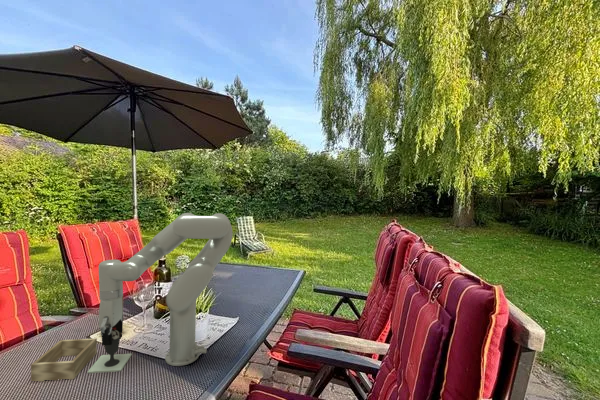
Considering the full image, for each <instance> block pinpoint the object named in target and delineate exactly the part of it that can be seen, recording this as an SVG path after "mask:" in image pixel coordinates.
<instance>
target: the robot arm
mask: <svg viewBox="0 0 600 400" xmlns="http://www.w3.org/2000/svg"><path fill="white" fill-rule="evenodd" d="M187 239H194V240H195V239H200V240H201V239H202V240H203V239H205V240H207V242H206V243H205V245H204V246H203V247H202V249H201V250H200V251H198V253H197V255H196V256H195V257H194V258H193V259H192V260H191V261H190V263H189V264H188V265H187V268H186V269H185V271H184V272H183V274H182V275H181V276H180V277H179V278H177V279H176V280H174V281H173V283H172V284H171V286H170V288H169V290H168V292H167V294H166V299H165V302H166V305H167V308H168V309H169V351H168V352H167V353H166V354H165V357H164V361H165V363H166V364H167V365H170V366H173V367H174V366H175V367H181V366H186V365H189V364H192V363H194V362H195V361H196V360H198V359H199V356H200V354H207V351H208V349H207V347H205V345H197V344H198V342H197V341H196V328H197V327H196V322H197V321H196V319H197V300H198V298H199V297H200V295H201V294H202V293H203V292H204V290H205V289H206V287H207V286H208V285H209V284H210V282H211V280H212V278H213V273H214V270H215V269H216V268H217V266H218V264H219V263H220V262H221V260H222V259H223V257H224V256H225V255H226V254H227V252H228V250H229V249H230V246H231V244H232V240H233V227H232V224H231V221H230V219H229V218H228V216H227V215H225V214H224V213H220V212H218V213H214V214H212V215H195V214H193V213H191V212H184V213H181V214H180V215H179V216H177V217H176V218H175V219H173V221H172V222H171V223H169V224H168V225H167V226H165V228H163V229H162V230H160V231H159V232H158V233H156V235H154V236H153V237H152V239H151V240H150V241H149V242H148V243H147V244H146V245H145V246H144V247H142V248H141V249H140V250H139V251H138V252H136V253H135V254H134V255H133V256H131V257H129V258H128V260H127V259H126V261H121V260H120V259H107V260H103V261H101V262H100V263H99V264H98V290H99V291H98V292H99V300H100V302H99V307H98V308H99V309H98V310H99V311H98V327H99V329H100V335H101V345H102V346H104V347H105V345H111V344H112V333H111V330H112V327H113V328H114V325H115V328H116V330H117V331H118V332H122V333H123V330H124V329H123V327H124V326H123V325H124V304H123V305H122V296H123V297H124V287H123V286H124V284H123V283H124V282H133V281H134V282H135V281H136V280H138V279H139V278H140V277H141V276H142V275H143V274H145V273H144V272H146V270H148V269H149V268H150V267H151V266H153V265H154V264H155V263H157V262H158V260H160V259H162V258H163V257H164V256H166V255H169V254H171V253H172V252H173V251H174V250H175V249H177V248H178V247H179V246H180V245H181V244H182V243H184V242H185V241H186V240H187ZM122 316H123V318H122ZM121 321H123V322H121ZM108 324H110V325H108ZM106 328H109V331H108V330H107V329H106Z"/></svg>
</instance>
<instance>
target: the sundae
mask: <svg viewBox="0 0 600 400" xmlns="http://www.w3.org/2000/svg"><path fill="white" fill-rule="evenodd" d="M111 333H112V344H111V345H104V349H105V352H106V355H110V360H109V361H107V362H105V364H104V365H105V366H106V367H112V366H115V365H117V364H118V363H119V362H120V361H119V360H118V359H114V355H115V354H116V353H117V352H118V351H119V346H120V341H121V339H122V338H123V333H122V334H121V333H119V332H118V331H117V330H116V328H115V325H114V328H112V330H111Z"/></svg>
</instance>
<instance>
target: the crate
mask: <svg viewBox="0 0 600 400" xmlns="http://www.w3.org/2000/svg"><path fill="white" fill-rule="evenodd" d="M97 345H98V344H97V338H96V337H95V338H80V339H79V338H77V339H60V340H59V341H57V342H56V343H55V344H54V345H53V346H52V347H50V348H49V349H48V350H47V351H45V352H44V353H43V354H42V355H41V356H40V357H39V358H37V359H36V360H35V361H34V362H32V363H31V364H30V376H31V377H30V382H31V381H39V382H45V381H44V380H54V381H62V380H61V379H69V380H75V379H76V377H77V376H78V375H79V374H80V373H81V371H82V370H83V369H84V368H85V367H86V366H87V365H88V363H89V362H91V360H92V359H93V358H94V357H95V356H96V355H97V354H98V353H97V350H98V349H97ZM71 356H75V357H74V358H73V359H72V360H65V361H63V360H62V361H59V359H60V358H62V357H71ZM58 379H59V380H58Z"/></svg>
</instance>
